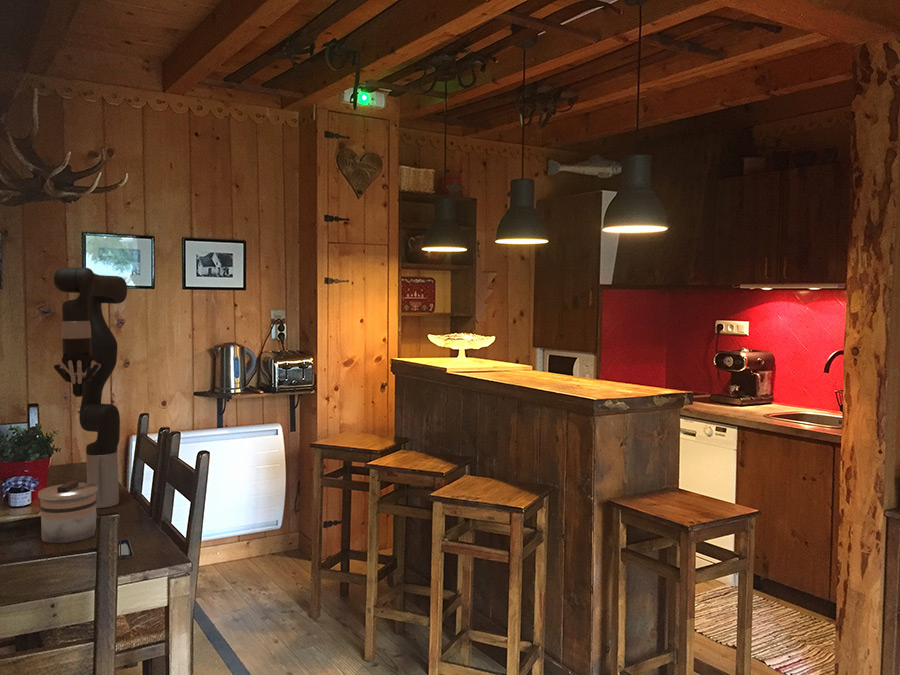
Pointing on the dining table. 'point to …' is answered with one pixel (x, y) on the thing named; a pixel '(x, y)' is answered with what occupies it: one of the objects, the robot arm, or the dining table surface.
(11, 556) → the dining table surface
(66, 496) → the lid
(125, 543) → the smartphone
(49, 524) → the pot
